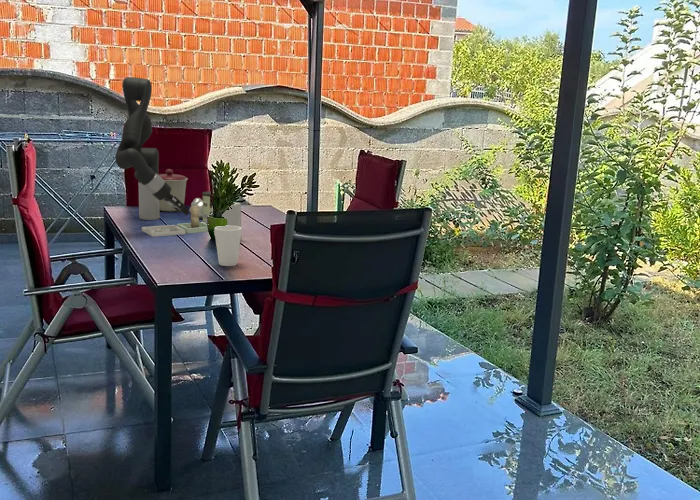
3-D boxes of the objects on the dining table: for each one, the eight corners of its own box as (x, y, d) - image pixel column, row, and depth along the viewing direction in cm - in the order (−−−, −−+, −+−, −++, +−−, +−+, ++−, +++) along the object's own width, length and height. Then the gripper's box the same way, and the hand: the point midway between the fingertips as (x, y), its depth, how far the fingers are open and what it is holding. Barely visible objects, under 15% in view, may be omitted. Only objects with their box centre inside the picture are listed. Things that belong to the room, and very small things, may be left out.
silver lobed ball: (192, 216, 324) (192, 196, 321) (211, 217, 323) (211, 197, 321) (187, 219, 315) (187, 198, 313) (207, 220, 314) (207, 199, 312)
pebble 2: (169, 233, 277) (168, 226, 276) (175, 232, 279) (175, 225, 278) (171, 234, 274) (171, 227, 274) (178, 233, 276) (178, 226, 275)
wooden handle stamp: (185, 229, 287) (185, 205, 284) (199, 228, 290) (198, 205, 288) (190, 231, 282) (190, 208, 280) (204, 230, 285) (204, 207, 283)
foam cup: (216, 260, 238) (216, 225, 235) (242, 261, 239) (242, 225, 236) (213, 266, 229) (213, 230, 226) (240, 267, 230) (240, 230, 227)
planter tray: (176, 230, 288) (176, 223, 287) (203, 228, 294) (202, 222, 294) (186, 235, 278) (186, 228, 277) (213, 233, 285) (213, 226, 284)
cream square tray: (141, 232, 280) (141, 227, 279) (173, 230, 288) (173, 224, 287) (152, 238, 269) (152, 233, 268) (185, 236, 277) (185, 230, 276)
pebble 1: (153, 234, 273) (153, 227, 273) (160, 233, 275) (160, 226, 274) (156, 235, 271) (155, 228, 270) (163, 234, 273) (163, 227, 272)
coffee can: (228, 221, 314) (228, 192, 311) (219, 225, 305) (219, 194, 302) (207, 219, 316) (207, 190, 313) (198, 223, 307) (198, 193, 303)
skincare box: (242, 239, 275) (242, 202, 271) (234, 242, 268) (234, 204, 265) (224, 237, 277) (224, 201, 274) (216, 240, 271) (216, 203, 268)
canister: (160, 206, 349) (159, 166, 344) (193, 208, 346) (192, 168, 342) (145, 211, 331) (144, 169, 326) (179, 214, 329) (179, 171, 324)
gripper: (169, 181, 268) (196, 208, 277) (157, 177, 279) (184, 203, 288) (156, 195, 266) (184, 221, 275) (145, 190, 277) (172, 216, 286)
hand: (184, 212), depth 281 cm, fingers open, 8 cm apart
